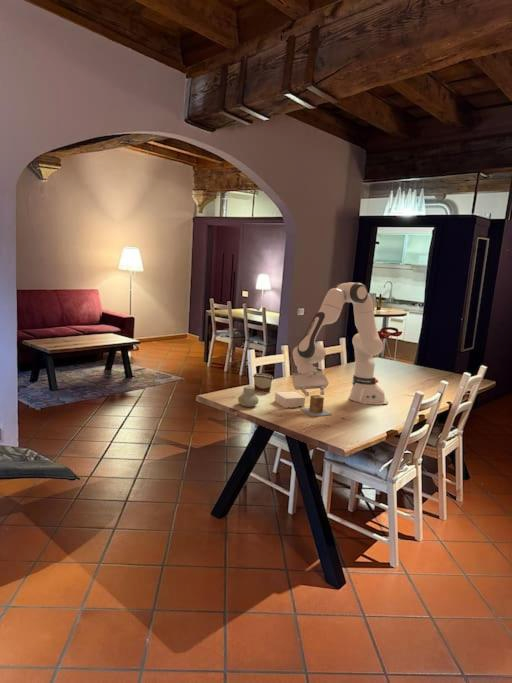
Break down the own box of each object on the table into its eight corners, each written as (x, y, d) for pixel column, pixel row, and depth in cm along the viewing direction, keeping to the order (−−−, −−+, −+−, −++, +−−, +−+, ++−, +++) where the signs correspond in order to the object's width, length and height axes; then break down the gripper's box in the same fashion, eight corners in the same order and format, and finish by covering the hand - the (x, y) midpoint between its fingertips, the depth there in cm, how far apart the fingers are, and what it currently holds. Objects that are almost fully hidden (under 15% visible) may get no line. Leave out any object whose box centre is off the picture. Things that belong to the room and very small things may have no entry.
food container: (274, 391, 280) (276, 374, 279) (271, 393, 275) (273, 377, 273) (255, 387, 284) (256, 372, 283) (252, 390, 278) (253, 374, 277)
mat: (319, 408, 253) (319, 407, 252) (331, 415, 242) (331, 414, 242) (300, 409, 247) (300, 408, 247) (311, 416, 237) (311, 415, 237)
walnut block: (317, 409, 248) (318, 395, 247) (322, 412, 243) (323, 397, 242) (309, 410, 246) (310, 395, 244) (314, 413, 241) (315, 398, 240)
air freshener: (235, 403, 250) (236, 385, 249) (248, 401, 255) (249, 384, 254) (247, 409, 242) (249, 390, 240) (260, 407, 247) (261, 389, 245)
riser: (293, 399, 264) (294, 391, 264) (304, 406, 254) (305, 397, 253) (274, 401, 259) (275, 392, 259) (285, 407, 249) (285, 398, 248)
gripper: (292, 370, 246) (300, 393, 239) (325, 368, 254) (333, 391, 247) (287, 376, 250) (295, 399, 243) (320, 374, 259) (328, 396, 252)
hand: (315, 395), depth 245 cm, fingers open, 8 cm apart
